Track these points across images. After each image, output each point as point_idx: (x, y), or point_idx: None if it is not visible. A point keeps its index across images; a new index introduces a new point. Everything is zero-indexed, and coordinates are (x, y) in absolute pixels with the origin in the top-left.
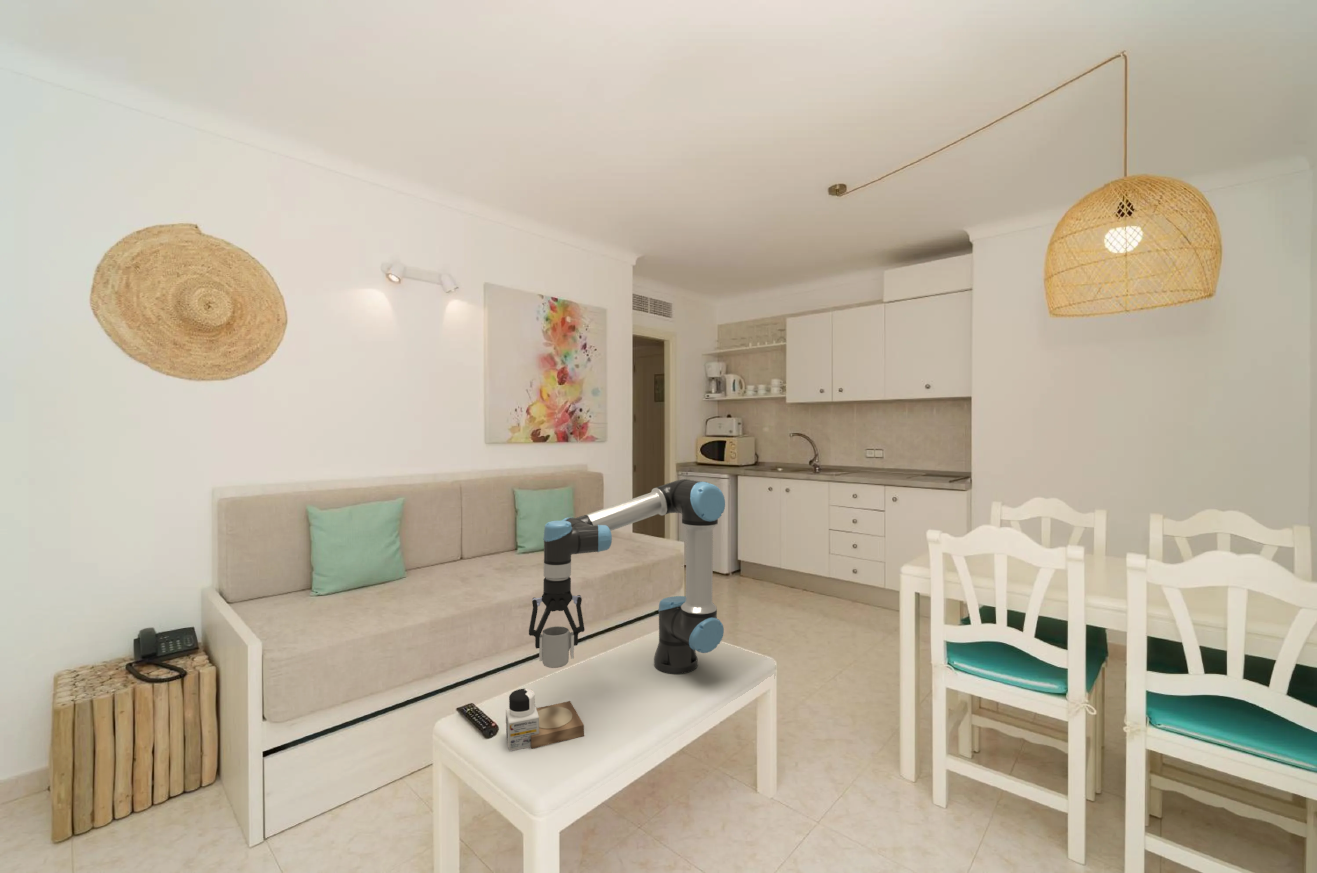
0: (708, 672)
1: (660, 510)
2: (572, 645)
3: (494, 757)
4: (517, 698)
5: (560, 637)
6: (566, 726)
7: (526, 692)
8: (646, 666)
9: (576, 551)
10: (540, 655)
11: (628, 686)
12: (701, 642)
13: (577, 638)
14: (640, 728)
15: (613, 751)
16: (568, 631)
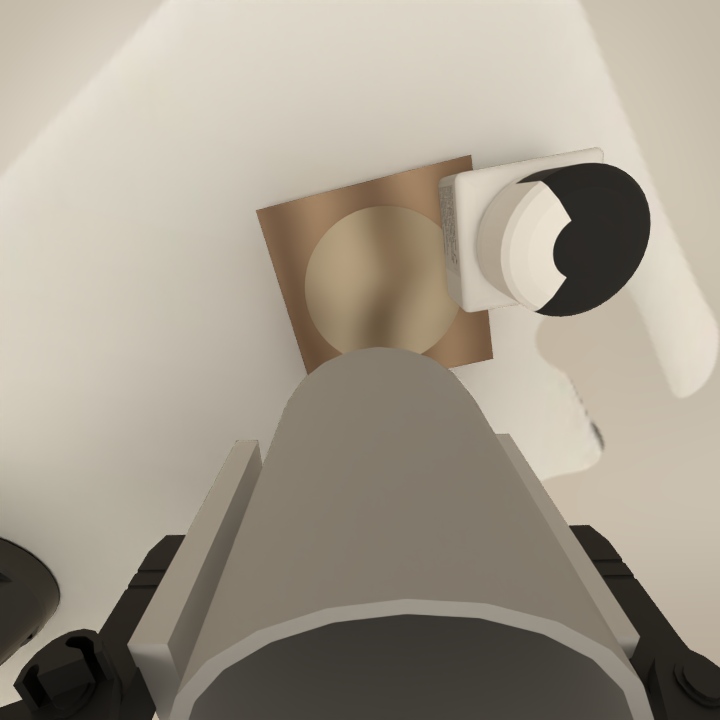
0: None
1: None
2: (206, 525)
3: (593, 130)
4: (620, 180)
5: (319, 566)
6: (327, 213)
7: (558, 238)
8: (83, 584)
9: None
10: (520, 463)
11: (130, 489)
12: None
13: (120, 606)
14: (53, 220)
15: (143, 67)
16: None
